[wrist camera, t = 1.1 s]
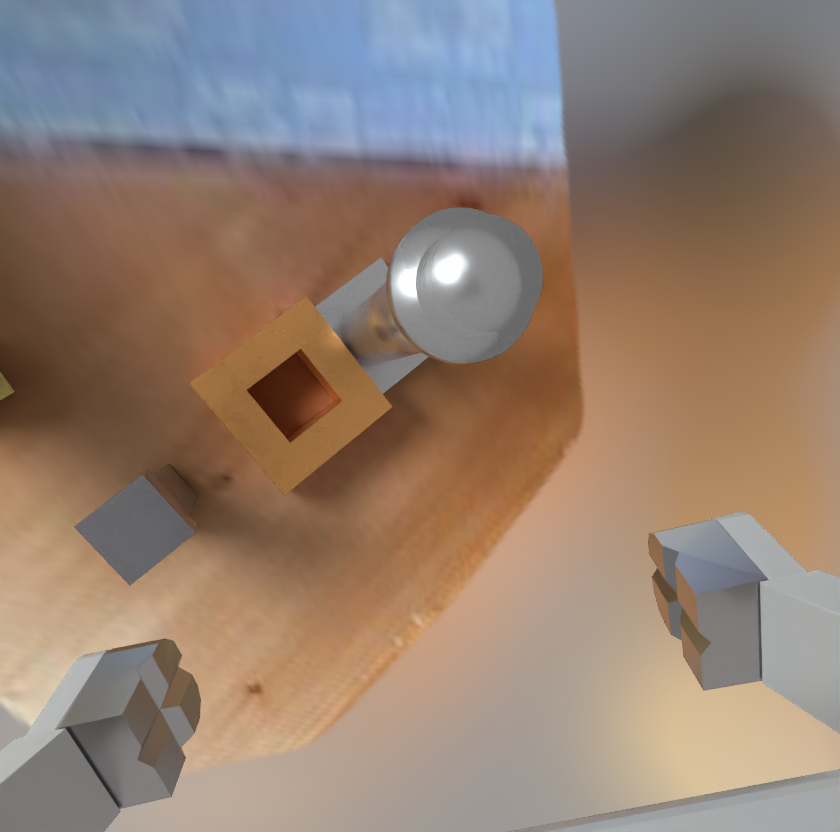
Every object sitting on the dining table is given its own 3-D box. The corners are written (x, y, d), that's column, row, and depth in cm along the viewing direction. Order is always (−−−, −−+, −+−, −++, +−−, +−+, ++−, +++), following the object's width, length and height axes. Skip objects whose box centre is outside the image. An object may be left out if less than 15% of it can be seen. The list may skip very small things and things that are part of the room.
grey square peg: (161, 534, 42) (129, 585, 31) (121, 491, 41) (74, 526, 30) (208, 497, 43) (195, 532, 31) (170, 454, 42) (142, 474, 31)
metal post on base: (280, 487, 44) (319, 582, 21) (194, 384, 42) (132, 367, 19) (446, 352, 48) (634, 308, 25) (372, 252, 46) (500, 102, 23)
